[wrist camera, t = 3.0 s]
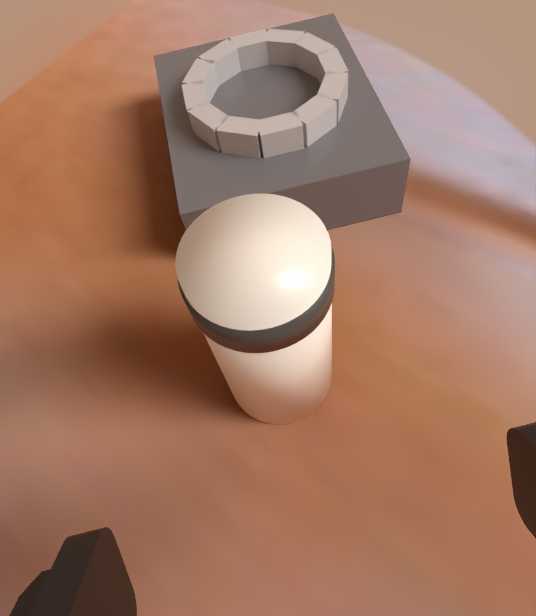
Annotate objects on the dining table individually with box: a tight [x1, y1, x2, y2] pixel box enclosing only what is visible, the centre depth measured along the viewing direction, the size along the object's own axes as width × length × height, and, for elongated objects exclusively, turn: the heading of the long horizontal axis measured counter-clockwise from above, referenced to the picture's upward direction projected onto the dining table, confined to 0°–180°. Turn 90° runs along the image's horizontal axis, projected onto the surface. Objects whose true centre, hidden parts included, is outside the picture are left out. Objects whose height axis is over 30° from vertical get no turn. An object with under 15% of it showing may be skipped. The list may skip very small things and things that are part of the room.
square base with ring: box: [154, 14, 410, 230], centre depth 30 cm, size 12×14×6 cm
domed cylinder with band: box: [175, 194, 335, 425], centre depth 20 cm, size 5×5×10 cm
